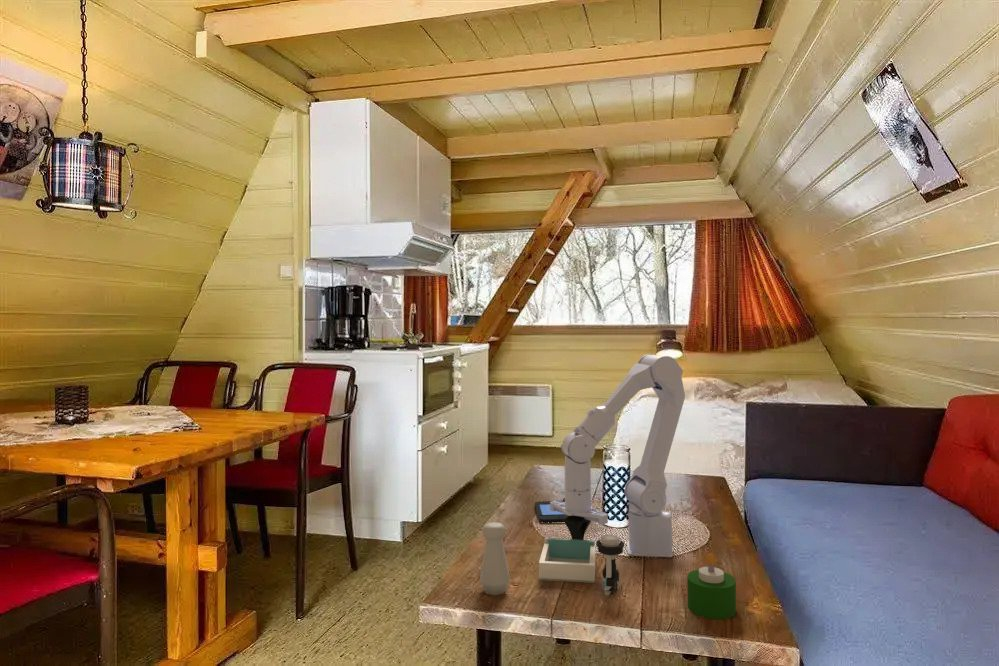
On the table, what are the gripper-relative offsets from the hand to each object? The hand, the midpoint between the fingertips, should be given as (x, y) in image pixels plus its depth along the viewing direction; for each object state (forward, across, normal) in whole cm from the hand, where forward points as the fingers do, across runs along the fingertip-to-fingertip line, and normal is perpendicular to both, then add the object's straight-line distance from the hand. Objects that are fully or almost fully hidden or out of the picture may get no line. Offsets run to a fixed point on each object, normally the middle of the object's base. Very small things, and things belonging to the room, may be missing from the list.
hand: (578, 549), depth 139 cm
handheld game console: (+2, -22, +21) cm, 30 cm away
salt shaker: (+2, -1, -25) cm, 25 cm away
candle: (+2, +33, -4) cm, 33 cm away
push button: (+2, +15, -10) cm, 18 cm away
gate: (+1, 0, -3) cm, 3 cm away
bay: (+2, +3, -7) cm, 8 cm away
